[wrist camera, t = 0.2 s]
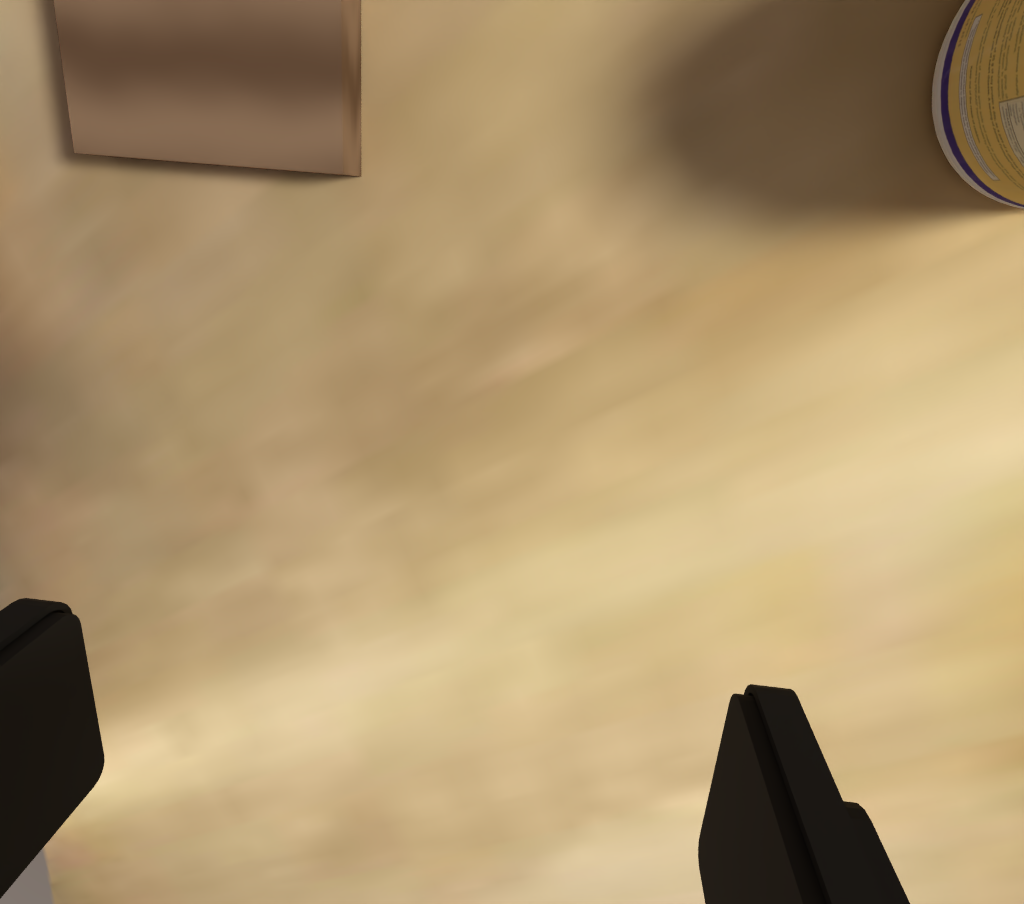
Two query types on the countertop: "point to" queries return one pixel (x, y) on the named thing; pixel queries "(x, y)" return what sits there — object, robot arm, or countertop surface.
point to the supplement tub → (983, 98)
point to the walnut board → (215, 81)
